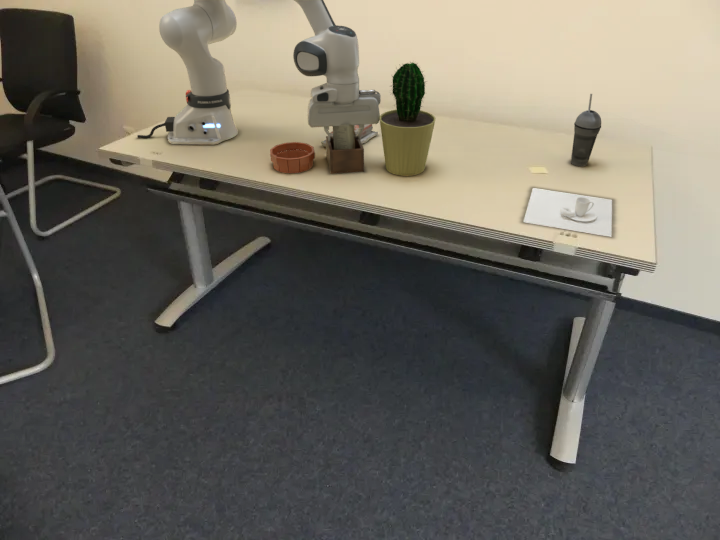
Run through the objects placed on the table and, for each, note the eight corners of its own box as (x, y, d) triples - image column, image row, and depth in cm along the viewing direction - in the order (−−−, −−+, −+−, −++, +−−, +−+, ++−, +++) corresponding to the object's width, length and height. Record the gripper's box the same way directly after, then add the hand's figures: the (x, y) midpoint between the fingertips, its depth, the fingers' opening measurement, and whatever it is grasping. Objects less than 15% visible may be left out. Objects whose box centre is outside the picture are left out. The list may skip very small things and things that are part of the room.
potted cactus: (423, 155, 169) (430, 51, 152) (438, 176, 156) (447, 66, 139) (374, 159, 167) (375, 54, 150) (384, 181, 154) (387, 69, 137)
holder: (330, 173, 158) (329, 151, 154) (326, 157, 168) (325, 136, 164) (364, 171, 159) (364, 149, 156) (358, 155, 169) (358, 134, 165)
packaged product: (352, 115, 184) (378, 121, 180) (353, 129, 187) (378, 135, 183) (320, 132, 172) (346, 138, 168) (321, 146, 175) (347, 153, 170)
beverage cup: (579, 170, 159) (595, 100, 148) (560, 161, 165) (574, 93, 153) (597, 165, 162) (614, 96, 151) (578, 156, 167) (594, 89, 156)
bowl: (271, 175, 157) (270, 160, 155) (271, 158, 168) (269, 143, 165) (316, 172, 159) (315, 157, 156) (313, 155, 169) (312, 140, 167)
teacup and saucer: (558, 219, 136) (561, 204, 133) (560, 204, 142) (563, 190, 140) (596, 225, 133) (600, 210, 131) (597, 210, 139) (601, 196, 137)
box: (355, 157, 163) (355, 120, 157) (349, 162, 160) (348, 125, 154) (339, 154, 165) (339, 117, 159) (333, 159, 162) (332, 122, 156)
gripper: (378, 86, 155) (378, 133, 163) (305, 89, 153) (308, 137, 161) (382, 92, 150) (381, 141, 158) (306, 96, 148) (309, 145, 155)
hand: (344, 139), depth 159 cm, fingers closed on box, 6 cm apart
